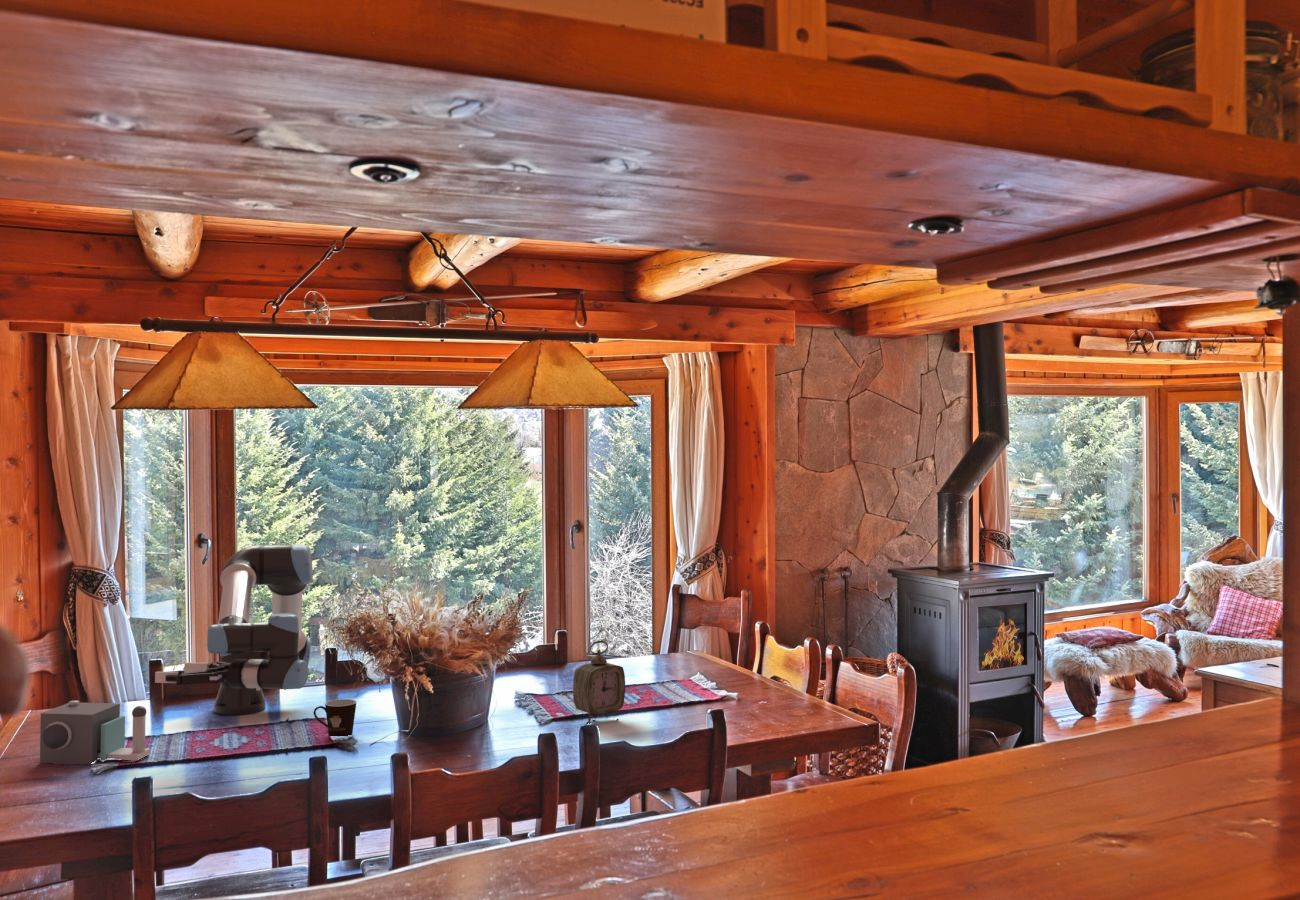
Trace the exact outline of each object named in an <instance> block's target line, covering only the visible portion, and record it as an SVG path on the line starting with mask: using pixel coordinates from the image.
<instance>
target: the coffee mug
mask: <svg viewBox="0 0 1300 900" xmlns="http://www.w3.org/2000/svg"><path fill="white" fill-rule="evenodd" d="M318 709H322V710H324V711H325V713H326V722H324V721H322V720H321V719H320V718H319V717H318V716H317V714H316V713H317V710H318ZM356 709H357V701H356V700H355V699H349V698H341V699H340V698H339V699H331V700H328V701H326V702H325V703H324V706H322V705H318V706H316V707H315V708H314V709H313V716H314V718H315V719H316V720H317V721H318V722H319V723H320V724H321V725H323V726H324V727H326V728H327V734H328V737H329V736H348V735H352V736H353V733H354V732H353V731H354V726H355V725H354V723H355V717H356Z"/></svg>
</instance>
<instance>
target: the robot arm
mask: <svg viewBox="0 0 1300 900" xmlns="http://www.w3.org/2000/svg"><path fill="white" fill-rule="evenodd" d="M312 560H313V559H312V553H311V549H310V547H309V546H308V545H306V544H305V545H304V544H296V543H292V544H275V545H274V544H269V545H268V544H267V545H266V544H264V545H263V544H262V545H260V544H259V545H258V544H256V545H255V544H254V545H249V546H247V547H244V548H242V549H240V550H239V551H237V552H235V553H234V554H233V555H232V556H230V557H229V559H228V560H226V562H225V563H224V565H223V567H222V569H221V572H220V577H219V580H220V585H221V586H222V591H221V599H220V606H219V613H218V619H217V624H211V625H209V626H208V628H207V633H206V635H207V636H206V647H207V648H206V649H207V652H208V653H209V654H211V655H213V654H214V655H215V654H219V657H220V661H216V662H213V661H212V662H184V666H183V667H184V672H182V671H181V670H180V669H179V670H177V671H155V672H154V673H155V674H154V683H155V684H156V683H157V684H159V683H160V684H175V685H176V686H182V685H183V686H185V685H198V684H199V685H200V684H202V685H203V684H218V683H220V684H219V685H220V686H219V690H218V692H217V695H216V697H215V701H214V704H213V712H214V713H215V714H219V715H224V716H233V715H234V716H235V715H236V716H240V715H246V714H248V713H249V714H253V712H254V713H258V712H260V710H261V711H263V710H264V708H265V709H266V697H265V695H264V692H263V690H265V689H267V690H269V689H270V690H284V691H286V690H299V689H302V688H303V687H304V686H305V685H306V684H307V682H308V679H309V673H310V668H309V664H310V655H311V650H312V649H311V645H312V644H311V642H312V641H311V638H310V636H307V635H306V634H305V632H304V631H303V630H302V623H303V622H302V620H303V619H302V618H303V617H302V616H303V614H302V613H303V609H302V608H303V606H302V605H303V591H304V590H306V588H307V586H308V585H309V584H312V582H313V580H314V579H313V578H314V574H313V573H314V570H313V561H312ZM254 586H267V589H268V590H269V591H270V592H271V593H272V596H271V597H272V598H271V600H272V602H271V603H272V609H271V610H272V611H271V612H272V614H271V615H269V616H268V620H267V621H262V622H250V614H251V613H250V610H251V599H252V592H253V591H252V590H253V588H254ZM262 709H263V710H262ZM257 711H258V712H257Z"/></svg>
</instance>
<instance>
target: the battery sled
mask: <svg viewBox="0 0 1300 900" xmlns="http://www.w3.org/2000/svg"><path fill="white" fill-rule="evenodd" d="M131 715H132V741H131V742H132V744H131V745H132V747H125V744H126V741H125V740H126V739H125V737H126V736H125V735H126V734H125V733H126V732H125V731H126V716H124V715H123V716H120V717H118V718H116V719H114V720H112V721H109V722H107V723H105V724H102V725H101V749H100V750H98V758H101V760H105V759H107V758H115V759H124V760H139V759H141V758H143V757H145V756H147V755H149V754H150V755H151V748H148V747H146V719H147V718H146V717H147V716H146V715H147V709H146V708H145V707H144V706H143V705H138V706H136V707H134V708H133V709H132V712H131ZM150 755H149V756H150ZM147 757H148V756H147ZM145 758H146V757H145ZM143 759H144V758H143ZM101 760H100V761H101ZM141 760H142V759H141Z"/></svg>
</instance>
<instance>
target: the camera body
mask: <svg viewBox="0 0 1300 900" xmlns="http://www.w3.org/2000/svg"><path fill="white" fill-rule="evenodd" d="M120 711H121V704H120V703H110V702H105V703H104V702H103V703H102V702H80V700H70V701H68V702H67V703H64V704H62V705H60V706H57V707H53V708H52V709H49V710H46V711H44V712H41V713H40V728H39V729H40V734H39V735H40V737H39V739H40V740H39V742H40V743H39V752H40V753H39V764H41V763H54V764H53V765H74V764H88V765H87V766H90V765H89V764H91V763H92V762H94V761H95V760H97V758H98V750H100V749H101V725H102V724H105V723H107V722H109V721H112V720H114V719H116V718H118V717H121V716H120V714H121V713H120ZM97 761H98V760H97ZM55 763H56V764H55Z"/></svg>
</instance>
